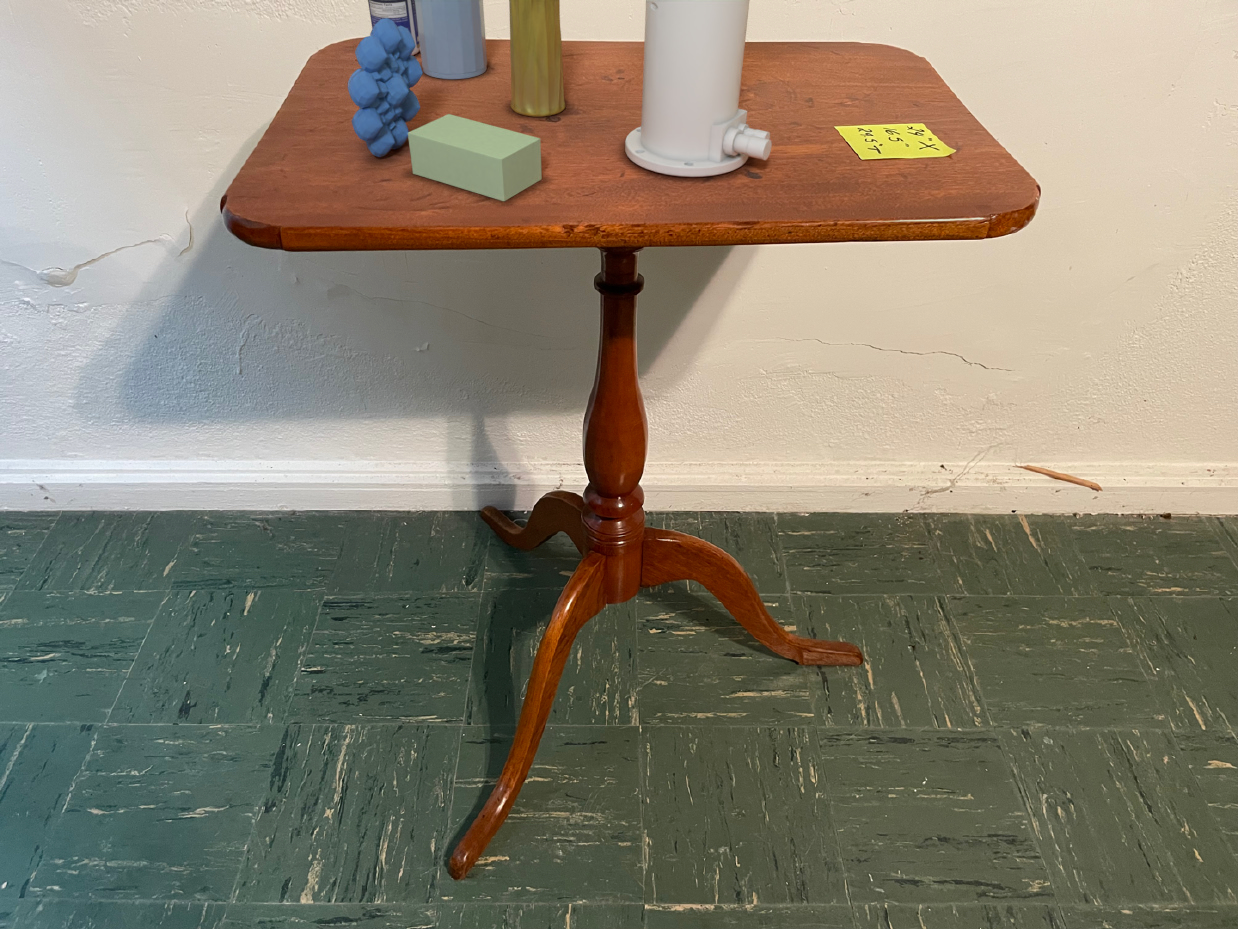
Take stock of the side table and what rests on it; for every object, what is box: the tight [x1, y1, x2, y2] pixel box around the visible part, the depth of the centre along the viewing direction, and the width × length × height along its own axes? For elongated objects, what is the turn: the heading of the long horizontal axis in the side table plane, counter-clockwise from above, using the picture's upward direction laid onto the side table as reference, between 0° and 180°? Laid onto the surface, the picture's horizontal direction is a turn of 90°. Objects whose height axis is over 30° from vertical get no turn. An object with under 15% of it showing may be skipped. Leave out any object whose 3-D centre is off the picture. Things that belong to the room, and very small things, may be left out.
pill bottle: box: [367, 0, 420, 56], centre depth 114 cm, size 6×6×10 cm
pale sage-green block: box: [407, 113, 543, 202], centre depth 88 cm, size 11×6×4 cm, turn 58°
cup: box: [415, 0, 488, 80], centre depth 110 cm, size 8×8×9 cm
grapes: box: [347, 18, 424, 158], centre depth 90 cm, size 12×7×12 cm, turn 161°
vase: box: [508, 0, 566, 118], centre depth 99 cm, size 6×6×14 cm
